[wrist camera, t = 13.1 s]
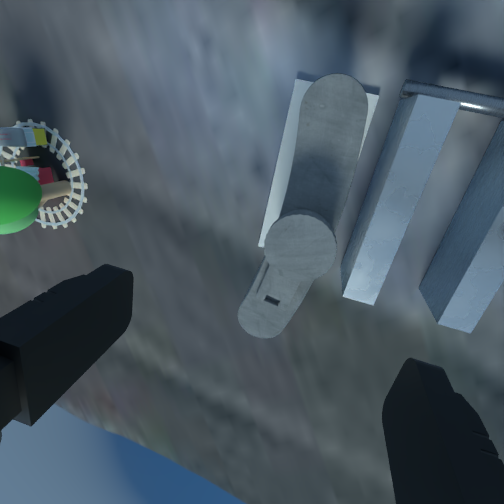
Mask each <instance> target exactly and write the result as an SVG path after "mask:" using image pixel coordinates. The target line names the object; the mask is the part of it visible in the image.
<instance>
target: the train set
mask: <svg viewBox="0 0 504 504" xmlns="http://www.w3.org/2000/svg"><path fill="white" fill-rule="evenodd" d="M16 124H17V125H15V126H13V127H0V234H9V233H14V232H18V231H20V230H22V229H25V228H26V227H28V226H29V225H31V224H32V223H33V222H34V221H37V222H40V223H41V224H42V227H43V228H46V225H52V227H53V228H54V229H57V225H63V226H64V227H67V226H68V225H67V223H68V222H69V221H71V220H72V221H73V222H74V223H75V222H76V221H77V220H76V218H75V216H76V215H77V214H78V213H80V214H82V213H83V210H82V209H81V206H82V203H83V202H85V203H87V198H86V197H84V189H88V186H87V183H84V180H83V174H85V170H84V168H80V165H79V163H78V160H77V159H78V158H79V155H78V154H77V153H73V151H72V150H71V148H70V147H69V145H70V142H69V141H68V140H67V139H66V140H65V141H64V140H63V139H62V138H61V137H60V136H59V135H58V130H57V129H55V128H54V129H53V130H51V129H50V128H48V127H47V126H46V124H45V122H41V124H38V123H35V122H33V121H32V119H28V122H22V123H21V122H20V121H17V122H16ZM23 126H29V127H23ZM34 126H36V127H37V128H35V127H34ZM46 130H47V131H48V132H50V133H51V134H52V139H51V144H50V143H48V142H47V140H46ZM57 138H58V139H59V140H60V141H61V142H62V143H63V145H62V147H61V148H60V150H59V151H58V150H57V149H56V148H55V147H56V142H57ZM38 145H41V146H42V147H44V148H47V146H48V145H49V146H50V151H51V152H52V153H54V152H55V151H56V152H57V153H58V154H57V156H56V157H57V158H58V159H59V160H61V159H63V161H64V163H63V164H62V166H63V168H64V169H66V168H67V169H68V171H69V172H67V173H66V176H67V178H70V179H71V182H68V181H66V180H62V181H58V182H54V180H53V176H52V171H51V167H46V168H41V167H24V166H28V165H34V164H33V160H32V159H35V158H39V156H35V157H26V158H16V157H15V154H17V155H19V154H20V151H19V150H18V149H19V147H20V148H21V149H22V150H23V149H24V148H25V147H36V146H38ZM3 146H7V147H9V148H10V149H11V150H12V151H13V155H11V154H9V153H7V152H4V151H2V150H3ZM67 149H68V151H69V152H70V154H71V155H72V156H71V157H70V158H68V159H67V160H65V158H64V157H63V155H64V154H65V152H66V150H67ZM3 157H5V158H7V159H8V160H4V158H3ZM18 160H20V163H21V166H17V167H16V166H15V165H14V163H15V162H16V163H17V161H18ZM4 162H11V164H12V165H10V164H4ZM74 162H75V163H76V166H77V168H78V169H76V170H73V171H71V170H70V168H69V166H70V165H71V164H73V163H74ZM79 175H80V180H81V183H79V182H73V177H75V176H79ZM74 188H81V195H79V194H76V193H74V192H73V191H74ZM64 195H68V196H70V198H69V199H67V198H65V199H64V202H65V203H66V205H65V206H64V205H63V204H62V203H61V204H60V205H59V206H60V208H61V209H60V210H59V209H58V208H57V207H56V206H55V207H53V209H54V211H51V208H50V207H47V208H46V209H47V211H46V210H44V207H41V206H42V205H44V203H45V202H46V201H47V200H49V199H53V198H56V197H60V196H64ZM72 198H75V199H77V200H80V202H79V205H78V206H77V205H76V204H74V203H73V202H71V199H72ZM68 205H69V206H70V207H72V208H73V209H74V210H76V211H75V212H74V214H73V215H72V214H71V213H70V211H69V210H68V209H67V208H66V207H67V206H68ZM38 210H40V217H41V220H40V219H37V215H38ZM62 210H63V211H64V212H65V214H66V215H67V216H68V217H69V218H68V219H67V220H64V218H63V216H62V215H61V213H60V212H61V211H62ZM45 213H48V215H49V218H50V221H51V222H46V220H45ZM52 213H56V215H57V216H58V218H59V220H60V221H61V222H58V223H56V222H55V219H54V217H53V214H52Z"/></svg>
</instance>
